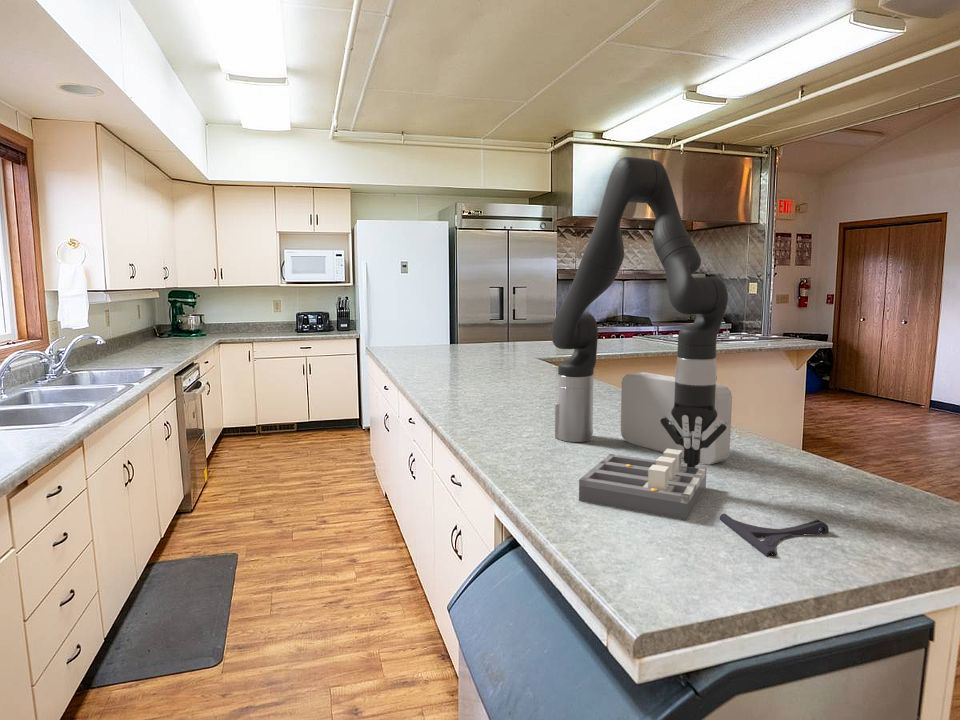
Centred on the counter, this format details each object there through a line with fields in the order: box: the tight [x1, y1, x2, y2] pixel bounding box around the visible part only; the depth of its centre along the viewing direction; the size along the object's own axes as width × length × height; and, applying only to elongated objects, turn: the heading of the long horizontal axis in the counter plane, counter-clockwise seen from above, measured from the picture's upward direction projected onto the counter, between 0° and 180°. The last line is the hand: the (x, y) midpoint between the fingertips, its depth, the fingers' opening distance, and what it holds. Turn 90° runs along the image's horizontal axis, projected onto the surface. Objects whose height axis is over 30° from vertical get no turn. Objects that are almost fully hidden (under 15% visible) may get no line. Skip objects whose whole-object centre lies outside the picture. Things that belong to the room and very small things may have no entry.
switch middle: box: [655, 455, 681, 482], centre depth 115 cm, size 5×3×4 cm
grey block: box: [620, 371, 733, 465], centre depth 146 cm, size 29×8×18 cm, turn 33°
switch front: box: [643, 465, 674, 492], centre depth 110 cm, size 5×3×4 cm
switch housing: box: [578, 453, 708, 521], centre depth 117 cm, size 20×19×4 cm
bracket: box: [719, 513, 830, 558], centre depth 98 cm, size 14×15×3 cm
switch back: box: [662, 449, 687, 473], centre depth 120 cm, size 5×3×4 cm
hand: (691, 466), depth 118 cm, fingers closed
